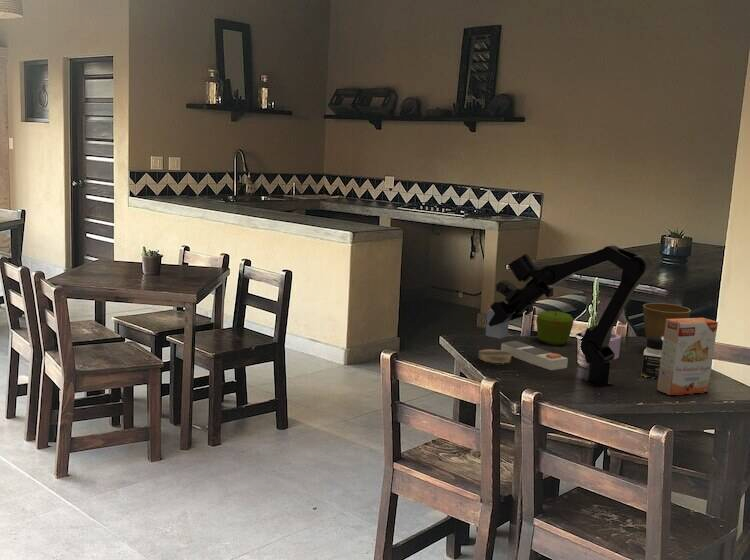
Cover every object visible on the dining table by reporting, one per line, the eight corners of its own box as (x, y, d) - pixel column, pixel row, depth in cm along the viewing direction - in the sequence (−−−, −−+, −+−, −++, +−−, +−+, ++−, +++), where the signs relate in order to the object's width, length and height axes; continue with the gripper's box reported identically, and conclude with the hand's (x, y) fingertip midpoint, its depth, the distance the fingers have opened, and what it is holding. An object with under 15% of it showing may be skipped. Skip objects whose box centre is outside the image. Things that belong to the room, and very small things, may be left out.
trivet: (515, 364, 245) (516, 357, 245) (485, 364, 243) (485, 358, 242) (503, 355, 255) (503, 349, 254) (473, 355, 252) (474, 349, 252)
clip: (581, 344, 276) (582, 324, 275) (618, 348, 273) (620, 329, 272) (578, 358, 257) (580, 337, 256) (618, 363, 254) (620, 341, 253)
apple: (538, 336, 284) (541, 305, 282) (573, 341, 279) (576, 309, 277) (531, 343, 272) (534, 311, 270) (567, 349, 268) (570, 316, 266)
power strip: (566, 367, 244) (568, 355, 243) (550, 370, 240) (551, 358, 240) (516, 350, 262) (517, 338, 262) (500, 352, 258) (501, 340, 258)
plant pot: (640, 346, 278) (645, 301, 275) (686, 353, 272) (692, 306, 269) (635, 355, 264) (640, 307, 262) (683, 362, 258) (689, 314, 256)
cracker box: (671, 397, 220) (680, 323, 216) (655, 390, 225) (664, 318, 222) (709, 393, 225) (719, 321, 222) (693, 387, 231) (702, 316, 227)
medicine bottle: (640, 376, 239) (645, 337, 237) (641, 371, 245) (646, 332, 243) (666, 380, 236) (670, 340, 234) (666, 374, 243) (671, 336, 241)
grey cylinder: (507, 336, 248) (509, 310, 247) (500, 338, 244) (502, 312, 243) (493, 333, 251) (495, 308, 249) (485, 335, 247) (487, 310, 245)
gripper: (527, 269, 249) (493, 299, 257) (498, 275, 234) (463, 306, 242) (548, 298, 246) (513, 327, 254) (521, 306, 231) (484, 336, 239)
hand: (493, 323), depth 248 cm, fingers closed on grey cylinder, 5 cm apart
